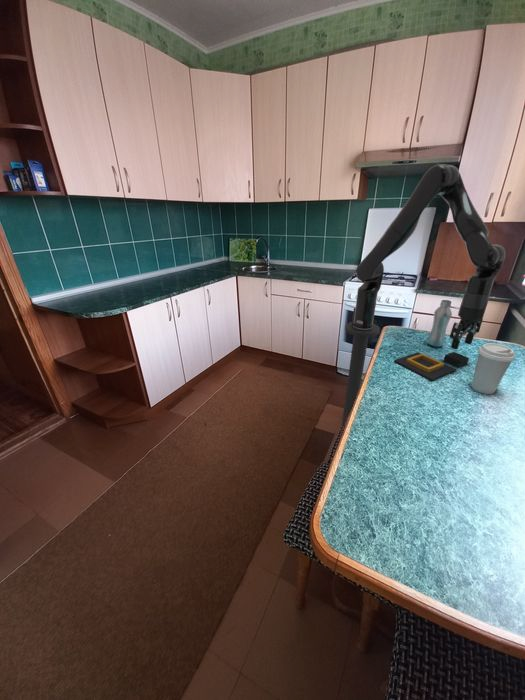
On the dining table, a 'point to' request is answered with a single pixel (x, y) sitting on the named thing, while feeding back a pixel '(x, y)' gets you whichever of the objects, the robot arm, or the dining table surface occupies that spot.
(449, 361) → the black block
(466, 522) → the dining table surface
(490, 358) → the coffee cup
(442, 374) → the base pad
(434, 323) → the plastic bottle
